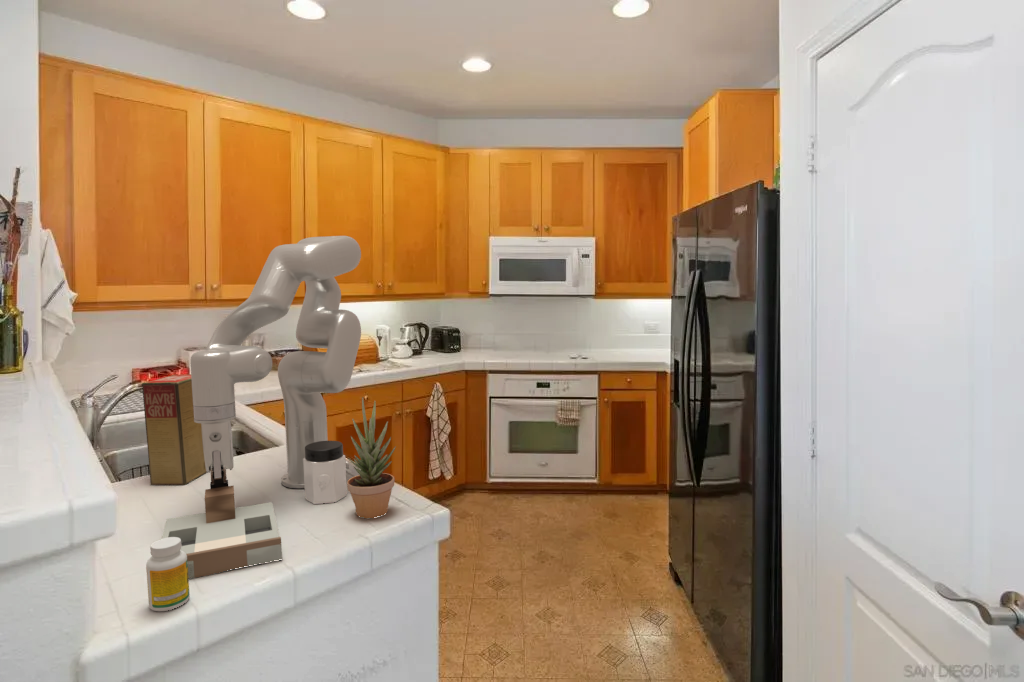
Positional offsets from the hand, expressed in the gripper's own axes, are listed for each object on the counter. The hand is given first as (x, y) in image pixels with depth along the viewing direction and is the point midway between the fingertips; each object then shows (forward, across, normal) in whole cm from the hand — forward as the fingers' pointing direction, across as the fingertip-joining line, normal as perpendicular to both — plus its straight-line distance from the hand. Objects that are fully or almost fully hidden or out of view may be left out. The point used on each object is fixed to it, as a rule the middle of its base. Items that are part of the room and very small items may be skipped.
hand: (220, 501), depth 121 cm
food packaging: (+4, +36, +9) cm, 37 cm away
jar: (+4, +4, -21) cm, 22 cm away
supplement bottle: (+5, -31, +7) cm, 32 cm away
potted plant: (+4, -10, -28) cm, 30 cm away
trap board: (+4, -13, 0) cm, 14 cm away
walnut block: (+1, -6, 0) cm, 6 cm away
